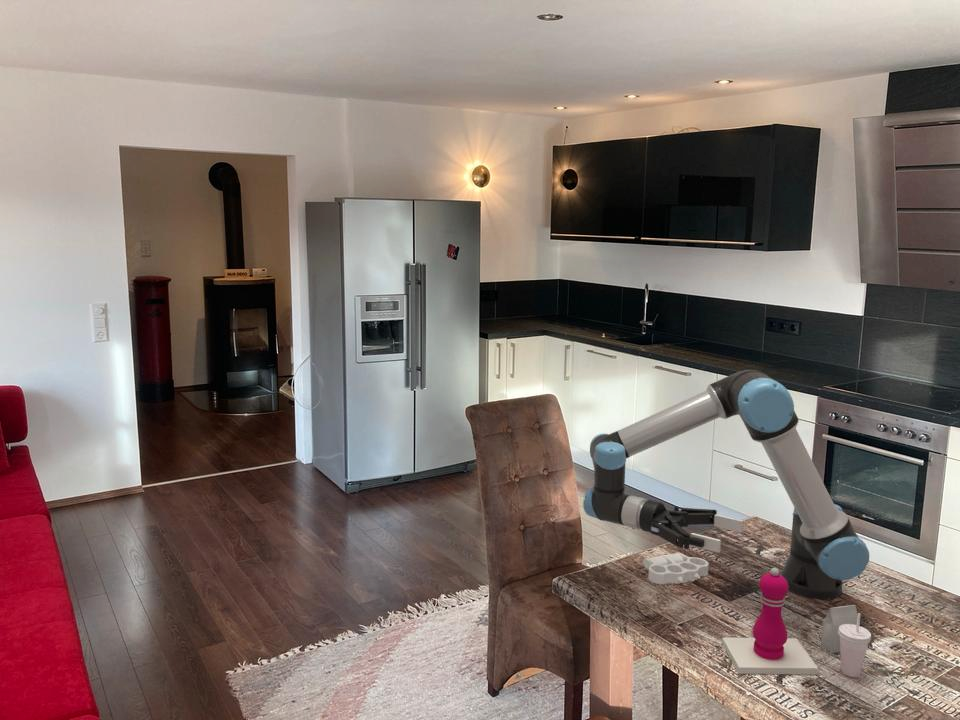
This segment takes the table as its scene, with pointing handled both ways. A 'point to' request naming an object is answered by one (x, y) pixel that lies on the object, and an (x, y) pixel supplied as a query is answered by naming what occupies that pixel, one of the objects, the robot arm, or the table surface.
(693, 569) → the knuckle duster
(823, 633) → the tea bag
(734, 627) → the table surface
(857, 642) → the smoothie
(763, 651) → the pepper mill
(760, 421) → the robot arm
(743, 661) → the cutting board
